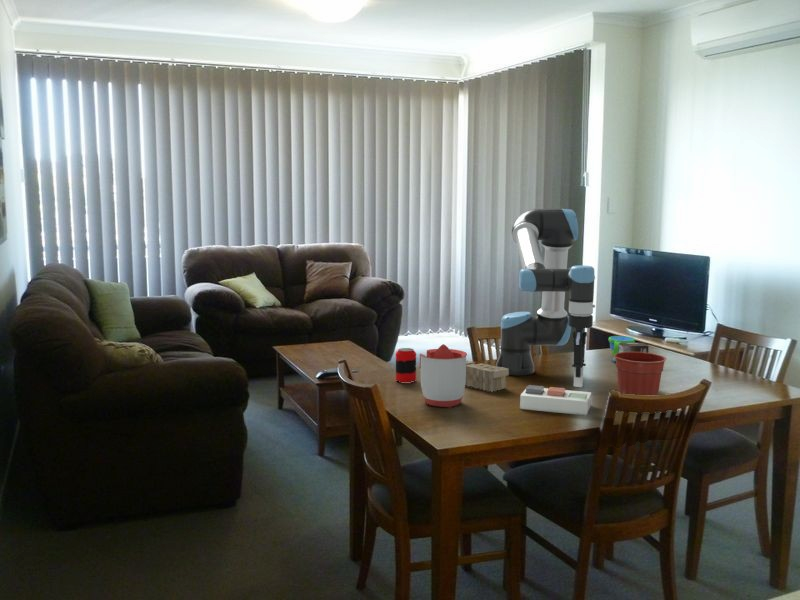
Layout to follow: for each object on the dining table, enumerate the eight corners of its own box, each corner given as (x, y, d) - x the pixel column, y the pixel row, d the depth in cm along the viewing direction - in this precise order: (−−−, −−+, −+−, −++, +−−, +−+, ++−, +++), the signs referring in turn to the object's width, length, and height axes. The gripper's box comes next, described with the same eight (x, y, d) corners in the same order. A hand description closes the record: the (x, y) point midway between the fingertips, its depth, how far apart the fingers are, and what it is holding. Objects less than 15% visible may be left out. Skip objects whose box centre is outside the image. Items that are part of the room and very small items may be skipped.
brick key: (547, 399, 243) (547, 390, 243) (549, 395, 248) (549, 386, 247) (562, 400, 241) (562, 391, 241) (564, 397, 246) (565, 388, 246)
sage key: (568, 406, 241) (569, 397, 240) (570, 402, 245) (571, 393, 245) (584, 407, 239) (585, 398, 239) (586, 403, 244) (586, 394, 243)
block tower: (435, 381, 284) (494, 393, 263) (435, 359, 283) (494, 370, 262) (450, 377, 289) (508, 389, 268) (449, 356, 288) (508, 366, 267)
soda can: (420, 380, 280) (420, 349, 278) (406, 384, 274) (406, 352, 273) (405, 377, 285) (405, 346, 283) (391, 381, 279) (391, 349, 278)
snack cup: (625, 366, 304) (626, 342, 302) (601, 363, 310) (602, 339, 309) (640, 360, 316) (641, 336, 315) (616, 357, 322) (617, 334, 321)
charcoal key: (525, 397, 245) (525, 388, 245) (528, 393, 250) (528, 385, 250) (540, 398, 244) (541, 389, 243) (543, 395, 248) (543, 386, 248)
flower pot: (672, 403, 249) (675, 356, 247) (649, 413, 238) (651, 364, 236) (627, 394, 261) (629, 349, 259) (602, 403, 249) (604, 356, 247)
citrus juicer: (426, 394, 261) (426, 337, 258) (473, 400, 253) (473, 342, 251) (407, 405, 247) (407, 345, 244) (456, 411, 239) (457, 350, 237)
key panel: (520, 408, 243) (520, 395, 242) (527, 399, 254) (527, 386, 254) (586, 415, 236) (587, 401, 235) (590, 405, 247) (591, 392, 246)
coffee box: (642, 385, 274) (644, 342, 272) (647, 389, 267) (649, 345, 265) (617, 385, 274) (619, 342, 272) (621, 389, 268) (623, 345, 266)
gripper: (590, 318, 231) (587, 392, 234) (595, 311, 243) (592, 382, 247) (566, 316, 234) (563, 390, 237) (571, 310, 246) (569, 380, 249)
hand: (578, 386), depth 242 cm, fingers closed
